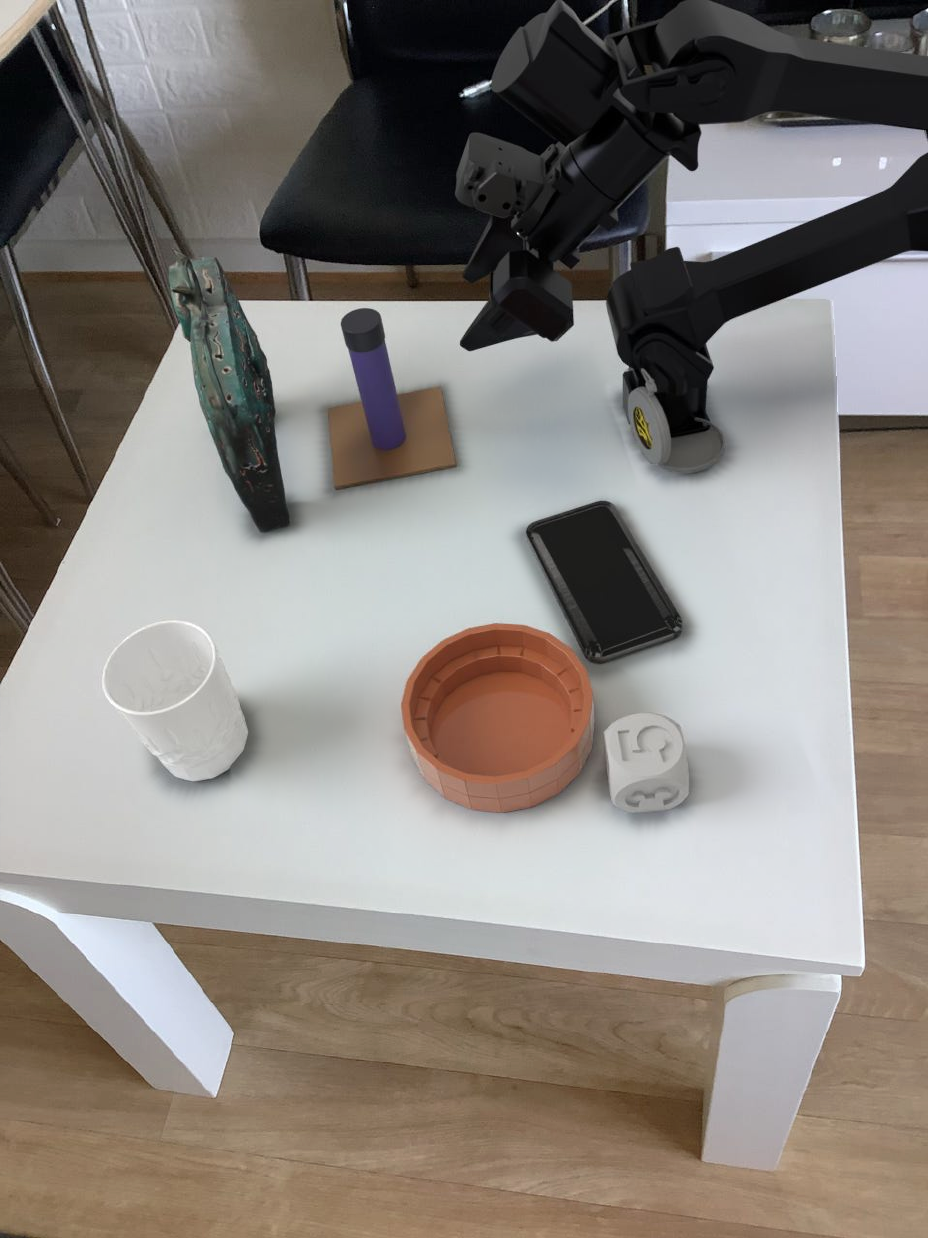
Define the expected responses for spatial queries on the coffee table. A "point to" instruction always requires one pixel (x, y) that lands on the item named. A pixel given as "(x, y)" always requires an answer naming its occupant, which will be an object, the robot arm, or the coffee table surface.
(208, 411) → the green weathered sculpture
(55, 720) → the coffee table surface
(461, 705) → the bowl
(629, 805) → the die
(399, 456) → the coaster
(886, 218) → the robot arm
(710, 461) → the pocket watch
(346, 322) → the glue stick
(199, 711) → the white cup
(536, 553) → the phone
